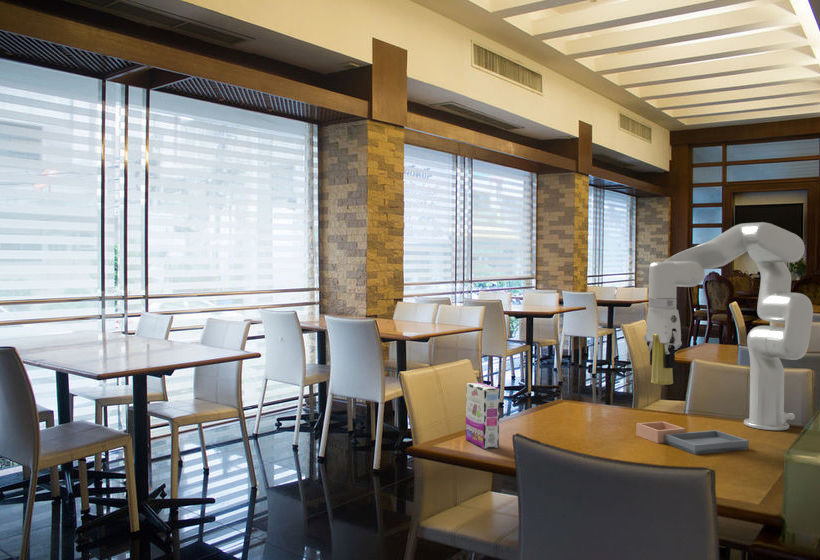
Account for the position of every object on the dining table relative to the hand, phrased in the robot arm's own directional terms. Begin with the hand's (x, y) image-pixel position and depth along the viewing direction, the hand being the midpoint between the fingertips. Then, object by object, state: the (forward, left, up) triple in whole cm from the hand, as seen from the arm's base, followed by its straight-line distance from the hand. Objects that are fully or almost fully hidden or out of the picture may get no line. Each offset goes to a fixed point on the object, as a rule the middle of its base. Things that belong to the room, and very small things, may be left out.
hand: (662, 365), depth 193 cm
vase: (0, 0, -5) cm, 5 cm away
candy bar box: (+53, -9, -21) cm, 58 cm away
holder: (0, 0, -21) cm, 21 cm away
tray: (-6, +11, -21) cm, 25 cm away
